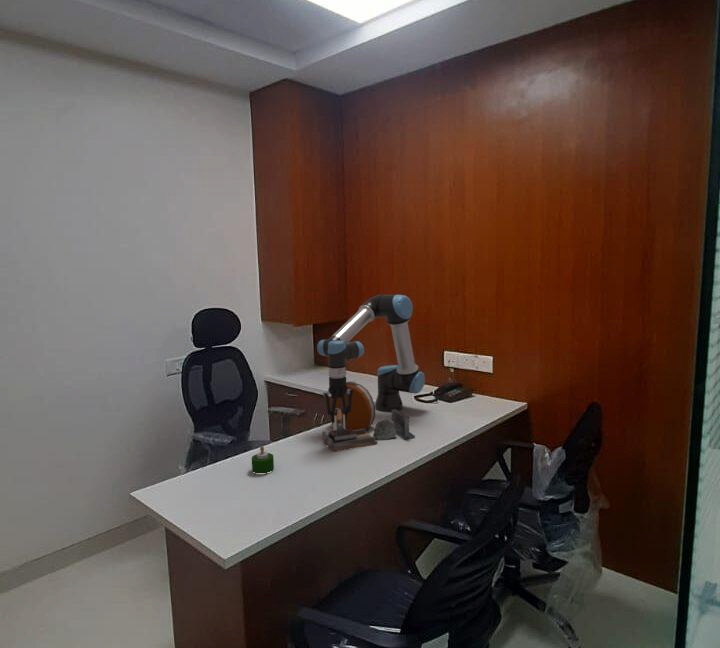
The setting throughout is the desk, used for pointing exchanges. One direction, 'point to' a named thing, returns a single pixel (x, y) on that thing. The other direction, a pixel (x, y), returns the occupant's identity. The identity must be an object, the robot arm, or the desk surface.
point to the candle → (262, 462)
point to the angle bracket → (401, 424)
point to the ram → (341, 433)
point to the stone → (384, 429)
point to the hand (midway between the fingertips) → (339, 428)
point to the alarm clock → (357, 407)
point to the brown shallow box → (350, 441)
